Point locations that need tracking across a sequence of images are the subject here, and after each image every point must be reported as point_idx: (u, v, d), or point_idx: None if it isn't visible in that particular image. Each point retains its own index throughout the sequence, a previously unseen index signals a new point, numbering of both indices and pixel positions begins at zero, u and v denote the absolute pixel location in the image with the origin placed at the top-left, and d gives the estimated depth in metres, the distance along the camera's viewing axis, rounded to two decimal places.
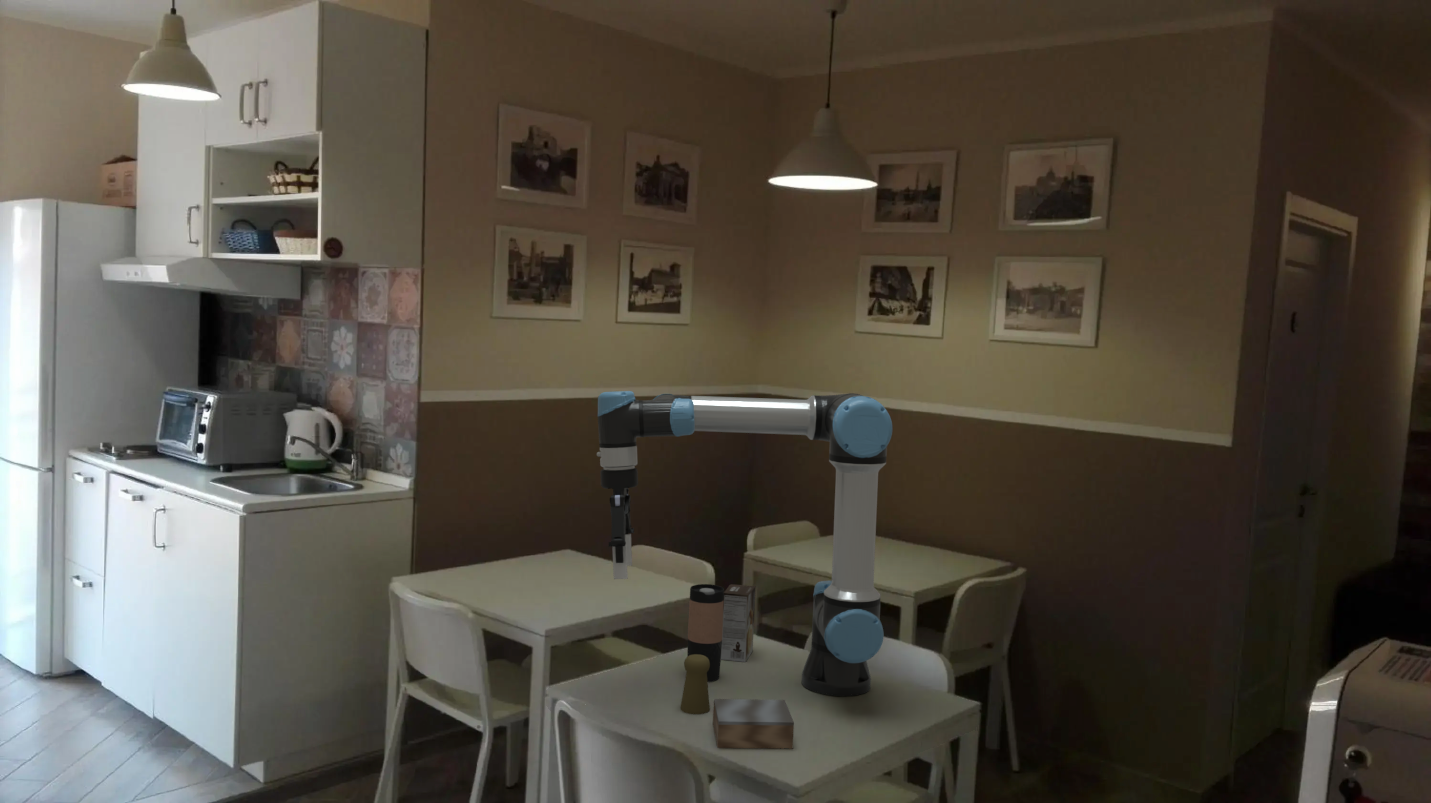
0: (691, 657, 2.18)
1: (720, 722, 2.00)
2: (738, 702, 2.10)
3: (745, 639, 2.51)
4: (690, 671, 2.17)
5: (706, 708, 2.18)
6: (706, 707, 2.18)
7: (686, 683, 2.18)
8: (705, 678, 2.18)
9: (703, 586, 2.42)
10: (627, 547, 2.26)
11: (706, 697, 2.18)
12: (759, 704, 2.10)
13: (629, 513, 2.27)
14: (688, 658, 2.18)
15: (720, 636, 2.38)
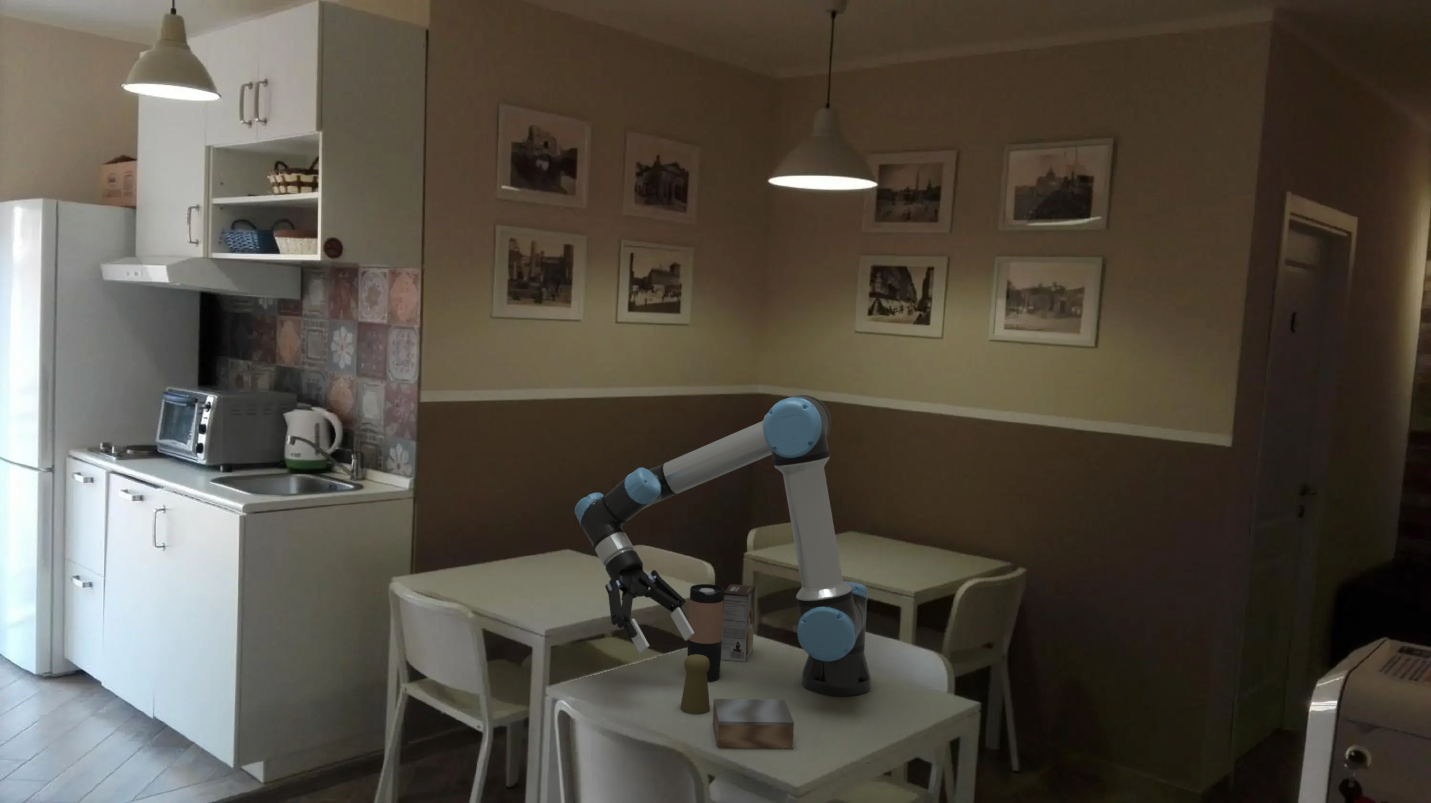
0: (691, 657, 2.18)
1: (720, 722, 2.00)
2: (738, 702, 2.10)
3: (745, 639, 2.51)
4: (690, 671, 2.17)
5: (706, 708, 2.18)
6: (706, 707, 2.18)
7: (686, 683, 2.18)
8: (705, 678, 2.18)
9: (703, 586, 2.42)
10: (681, 620, 2.30)
11: (706, 697, 2.18)
12: (759, 704, 2.10)
13: (671, 590, 2.34)
14: (688, 658, 2.18)
15: (720, 636, 2.38)
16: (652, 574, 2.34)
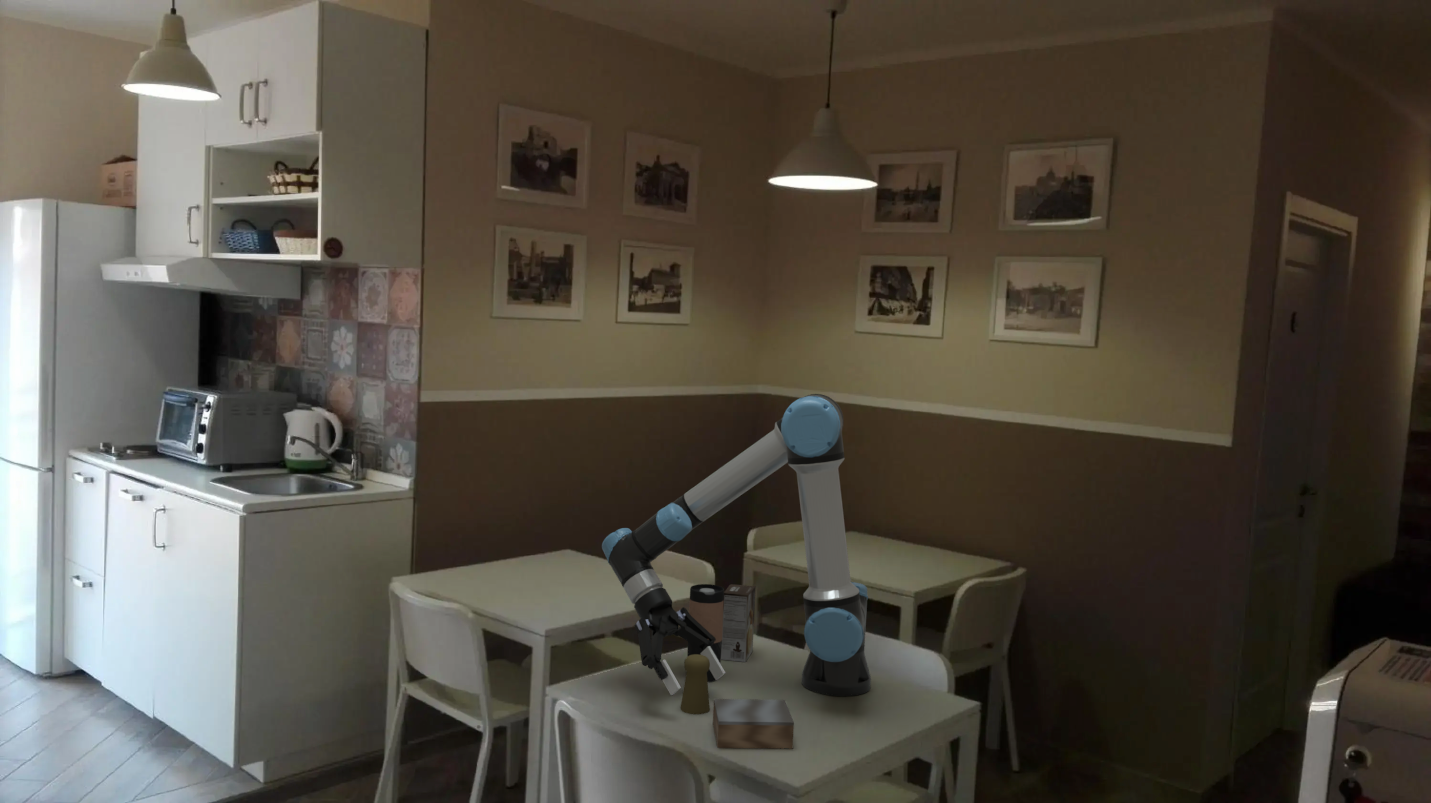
0: (691, 657, 2.18)
1: (720, 722, 2.00)
2: (738, 702, 2.10)
3: (745, 639, 2.51)
4: (690, 671, 2.17)
5: (706, 708, 2.18)
6: (706, 707, 2.18)
7: (686, 683, 2.18)
8: (705, 678, 2.18)
9: (703, 586, 2.42)
10: (711, 659, 2.25)
11: (706, 697, 2.18)
12: (759, 704, 2.10)
13: (701, 628, 2.28)
14: (688, 658, 2.18)
15: (720, 636, 2.38)
16: (681, 612, 2.29)
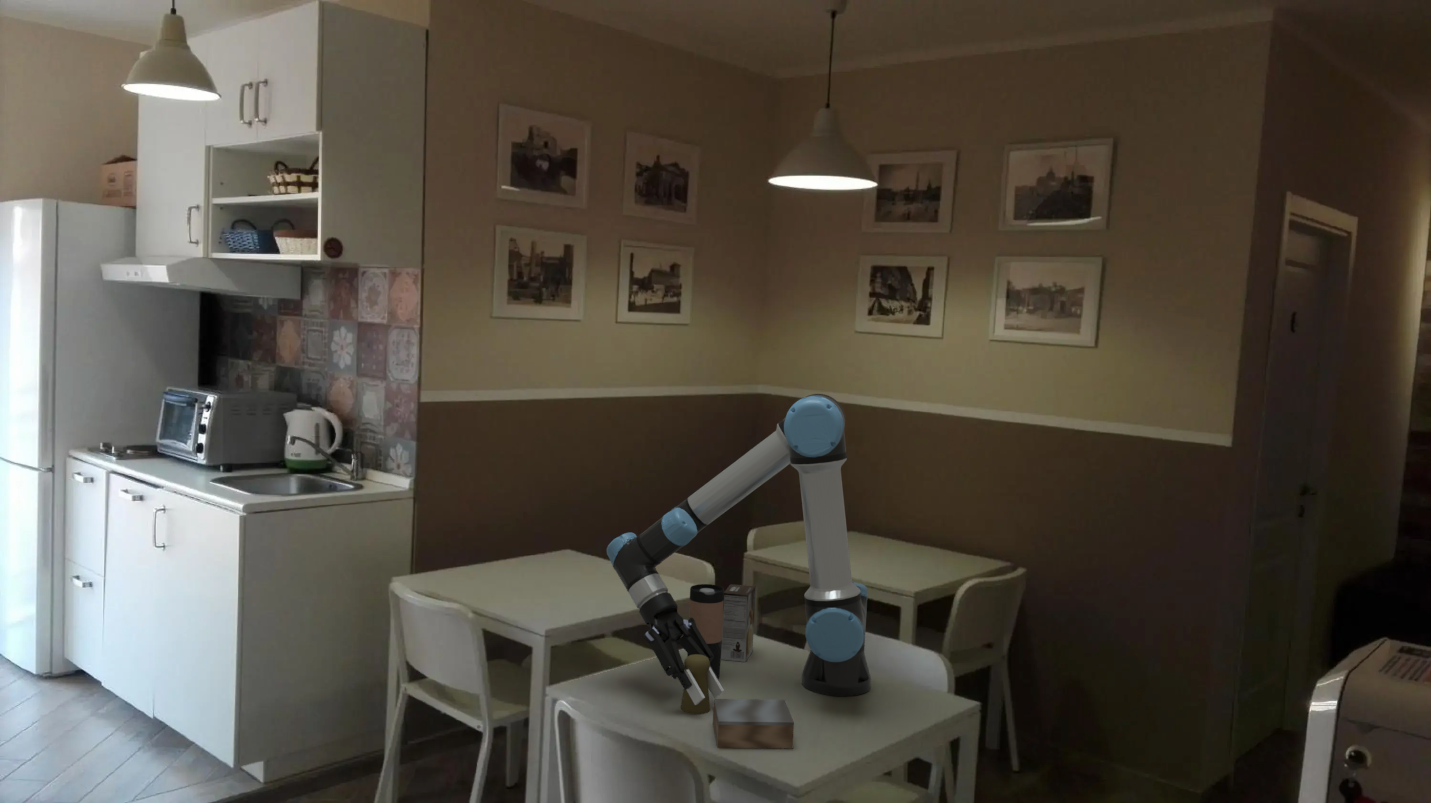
0: (691, 657, 2.18)
1: (720, 722, 2.00)
2: (738, 702, 2.10)
3: (745, 639, 2.51)
4: (690, 671, 2.17)
5: (706, 708, 2.18)
6: (706, 707, 2.18)
7: None
8: (705, 678, 2.18)
9: (703, 586, 2.42)
10: (709, 677, 2.20)
11: (706, 697, 2.18)
12: (759, 704, 2.10)
13: (702, 642, 2.25)
14: (688, 658, 2.18)
15: (720, 636, 2.38)
16: (689, 621, 2.28)
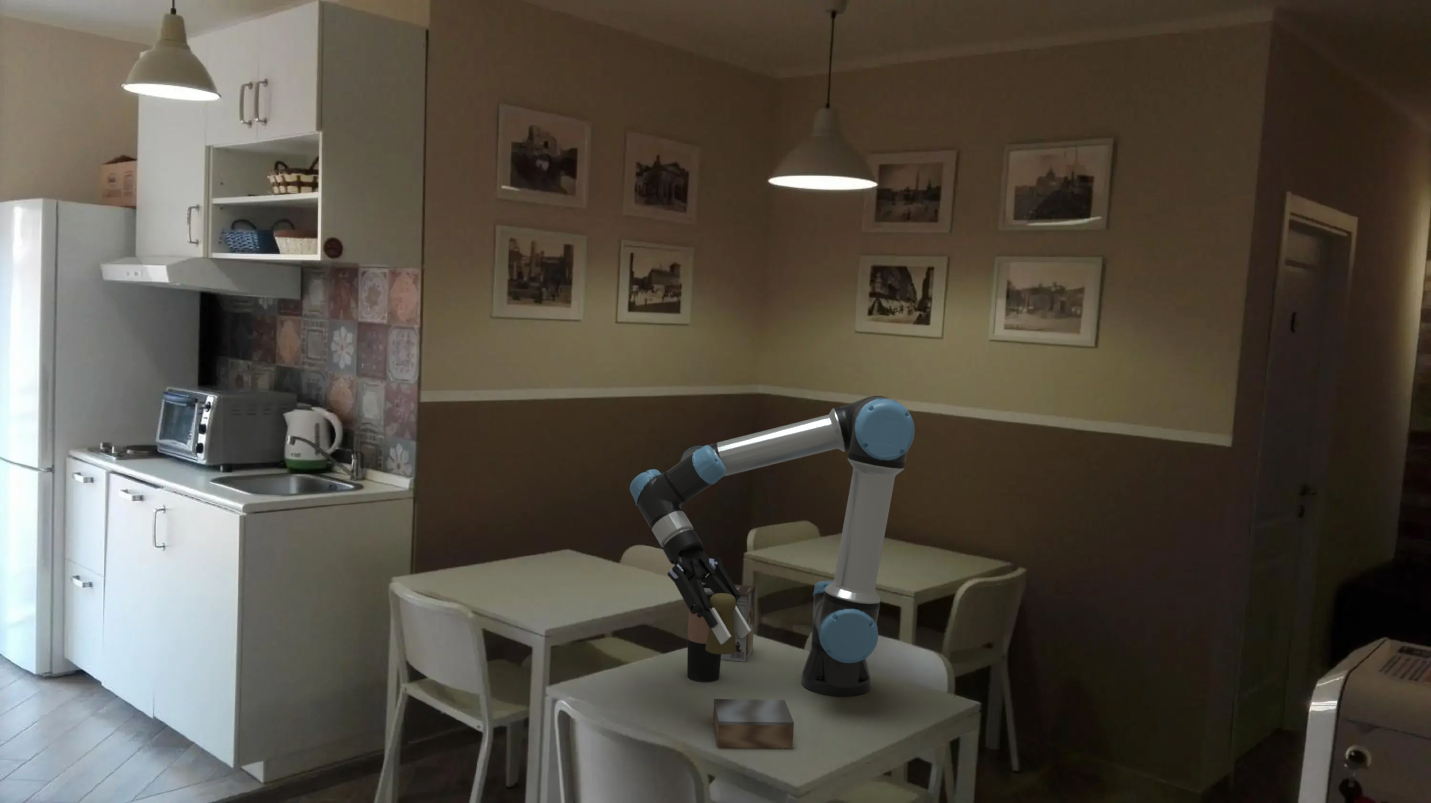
0: (717, 595, 2.10)
1: (720, 722, 2.00)
2: (738, 702, 2.10)
3: (745, 639, 2.51)
4: None
5: (732, 648, 2.10)
6: (732, 648, 2.10)
7: None
8: (731, 617, 2.10)
9: (703, 586, 2.42)
10: (736, 616, 2.12)
11: (732, 637, 2.10)
12: (759, 704, 2.10)
13: (729, 581, 2.17)
14: (713, 596, 2.10)
15: None
16: (714, 560, 2.19)
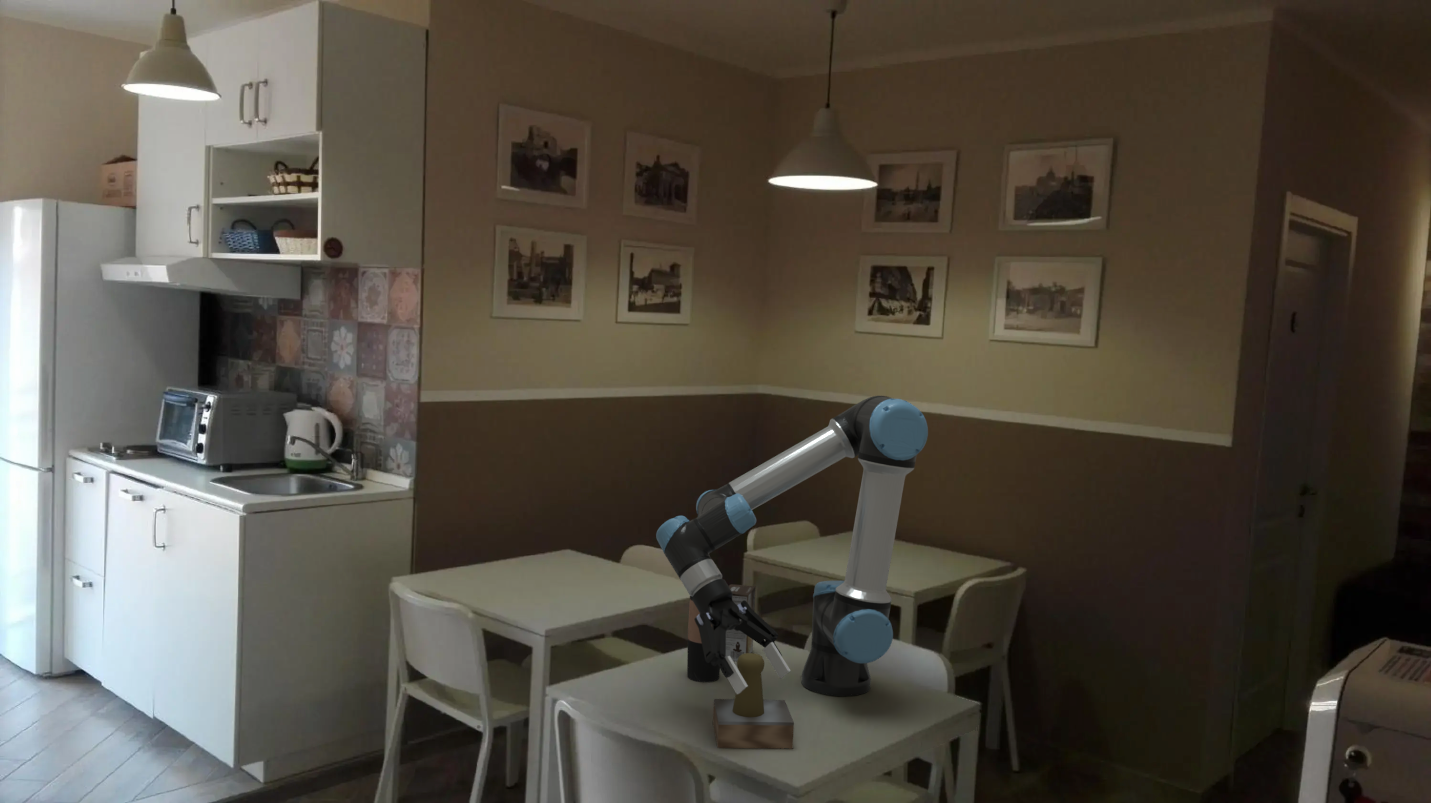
0: (745, 656, 2.04)
1: (720, 722, 2.00)
2: None
3: (745, 639, 2.51)
4: (744, 671, 2.03)
5: (761, 710, 2.04)
6: (761, 710, 2.04)
7: None
8: (760, 678, 2.04)
9: None
10: (775, 656, 2.10)
11: (761, 699, 2.04)
12: None
13: (763, 623, 2.14)
14: (741, 657, 2.04)
15: None
16: (742, 605, 2.15)
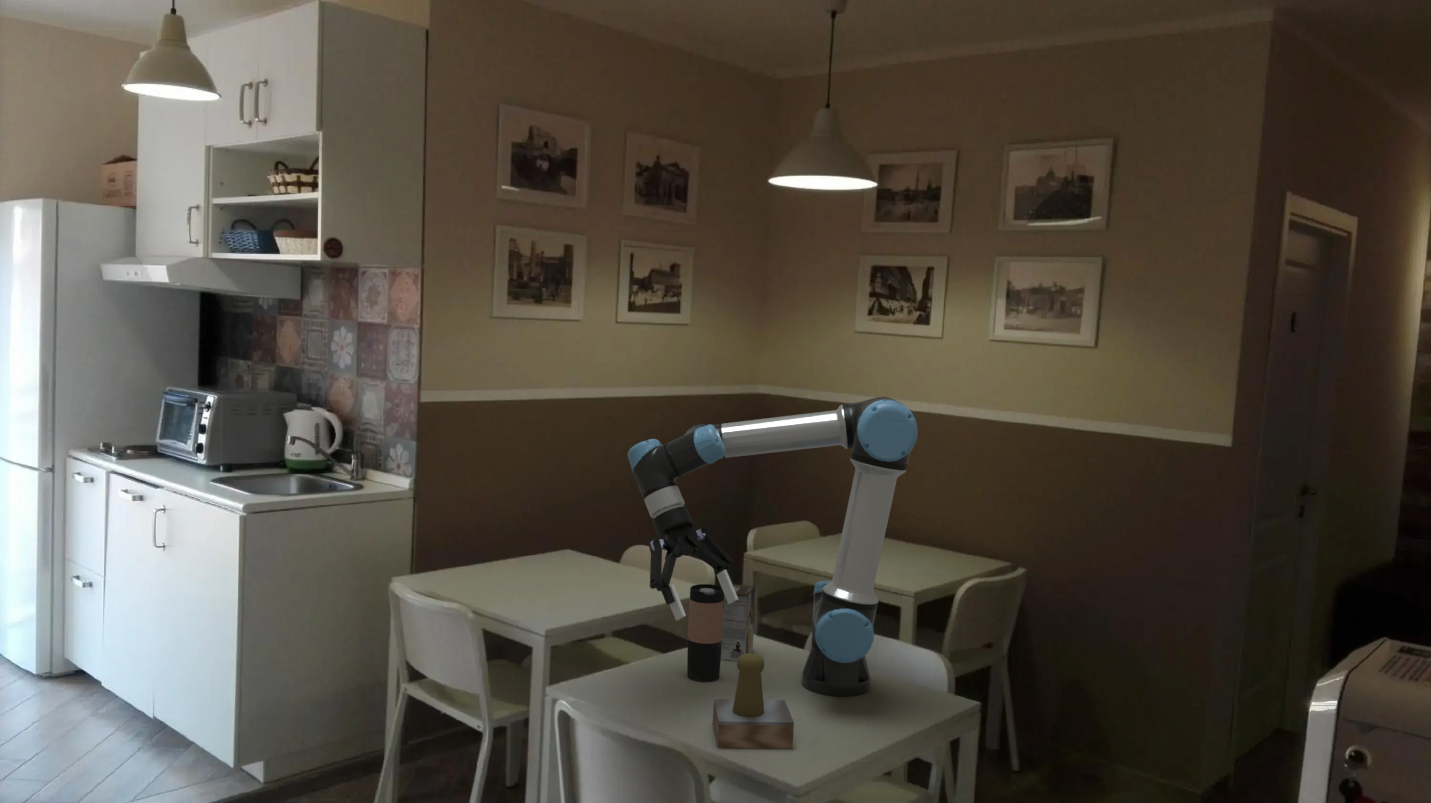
0: (745, 656, 2.04)
1: (720, 722, 2.00)
2: None
3: (745, 639, 2.51)
4: (744, 671, 2.03)
5: (761, 710, 2.04)
6: (761, 710, 2.04)
7: (739, 684, 2.04)
8: (759, 678, 2.04)
9: (703, 586, 2.42)
10: (726, 583, 2.20)
11: (761, 699, 2.04)
12: None
13: (720, 549, 2.22)
14: (741, 657, 2.04)
15: (720, 636, 2.38)
16: (702, 531, 2.23)
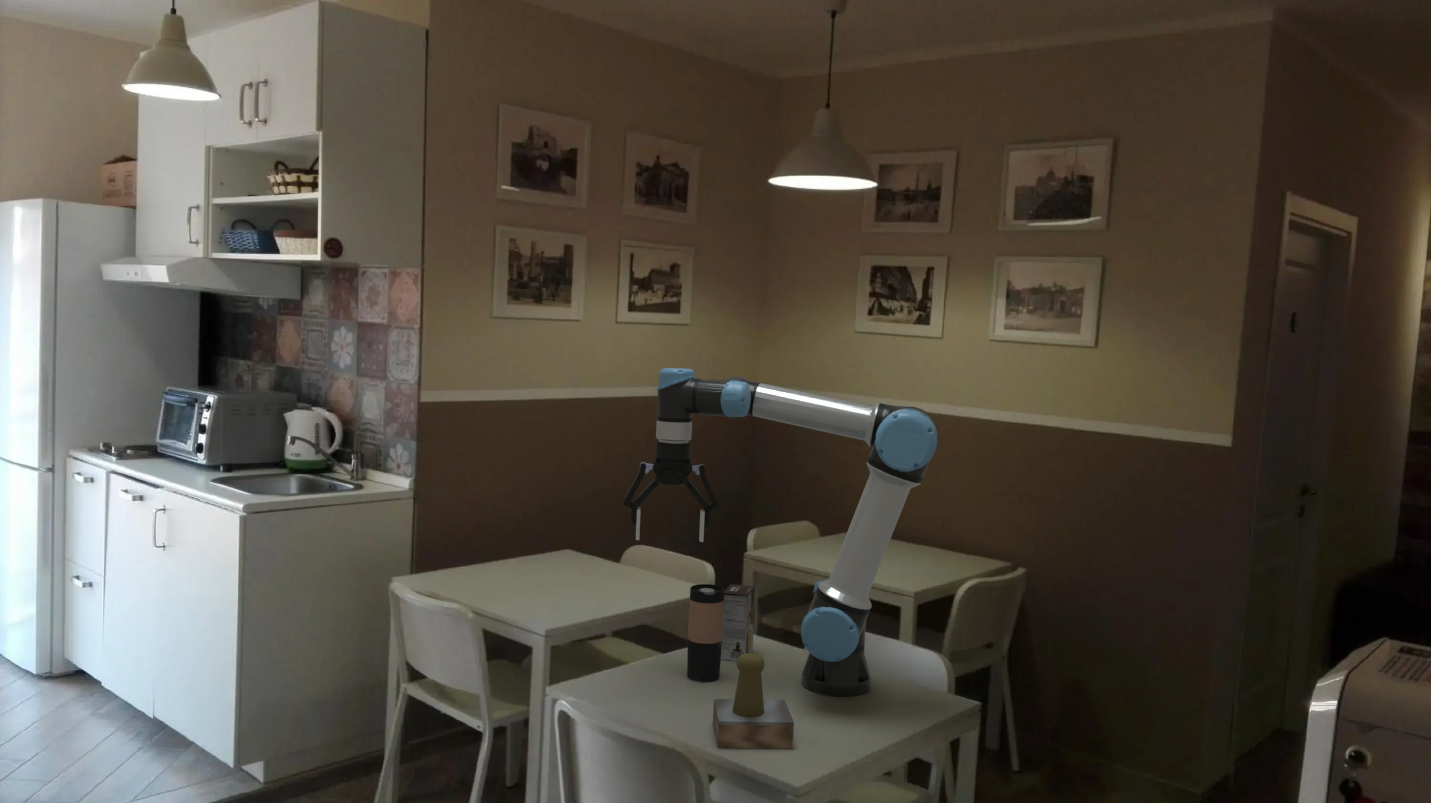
0: (745, 656, 2.04)
1: (720, 722, 2.00)
2: None
3: (745, 639, 2.51)
4: (744, 671, 2.03)
5: (761, 710, 2.04)
6: (761, 710, 2.04)
7: (739, 684, 2.04)
8: (759, 678, 2.04)
9: (703, 586, 2.42)
10: (700, 523, 2.31)
11: (761, 699, 2.04)
12: None
13: (708, 492, 2.30)
14: (741, 657, 2.04)
15: (720, 636, 2.38)
16: (699, 468, 2.30)
